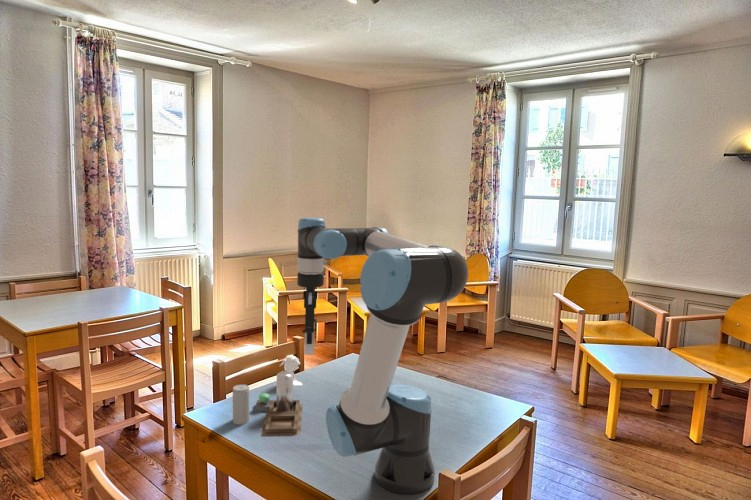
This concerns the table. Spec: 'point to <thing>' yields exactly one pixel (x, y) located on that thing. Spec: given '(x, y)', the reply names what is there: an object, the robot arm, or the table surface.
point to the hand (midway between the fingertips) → (309, 349)
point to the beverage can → (240, 404)
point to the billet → (284, 391)
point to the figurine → (291, 367)
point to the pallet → (280, 418)
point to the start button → (264, 397)
